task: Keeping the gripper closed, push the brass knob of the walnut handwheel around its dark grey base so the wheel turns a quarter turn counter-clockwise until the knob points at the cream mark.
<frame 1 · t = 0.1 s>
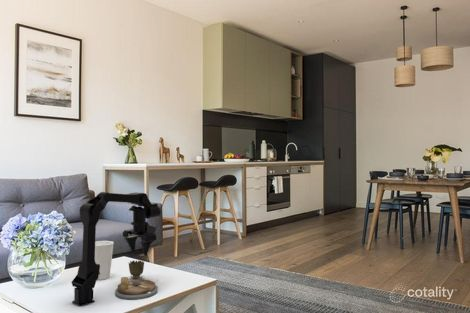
hand: (139, 253, 186), 15 cm above the table, tool pointing down, fingers open, 9 cm apart
wheel base: (136, 292, 176), on the table
handwheel: (136, 281, 176), point 5 cm above the table, hinge at 0.0°
cup: (101, 278, 198), on the table
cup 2: (136, 278, 197), on the table
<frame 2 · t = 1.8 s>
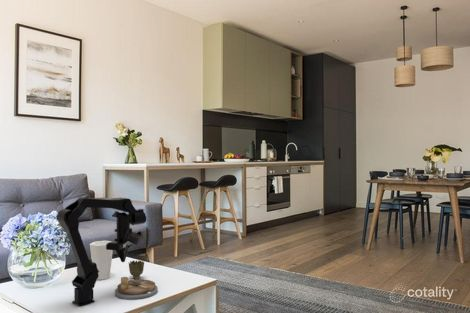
hand: (123, 262, 177), 13 cm above the table, tool pointing down, fingers closed
nothing on the table moved.
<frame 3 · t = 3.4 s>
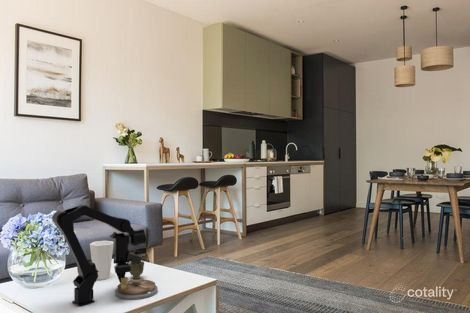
hand: (121, 283, 174), 4 cm above the table, tool pointing down, fingers closed
handwheel: (136, 281, 176), point 5 cm above the table, hinge at 0.0°, touching gripper
everything else where it was.
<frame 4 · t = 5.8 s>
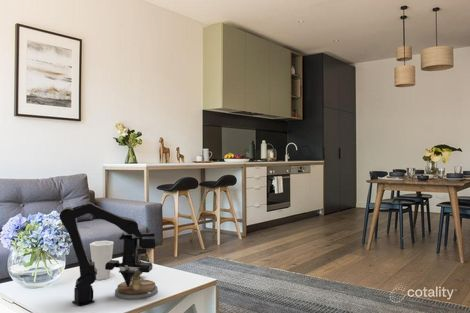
hand: (128, 286, 170), 5 cm above the table, tool pointing down, fingers closed
handwheel: (136, 281, 176), point 5 cm above the table, hinge at 51.8°, touching gripper
everything else where it was.
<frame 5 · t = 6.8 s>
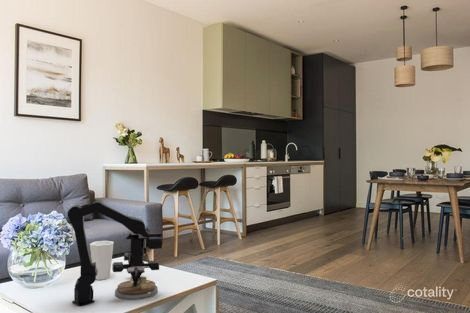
hand: (134, 286, 169), 5 cm above the table, tool pointing down, fingers closed
handwheel: (136, 281, 176), point 5 cm above the table, hinge at 77.5°, touching gripper
everything else where it was.
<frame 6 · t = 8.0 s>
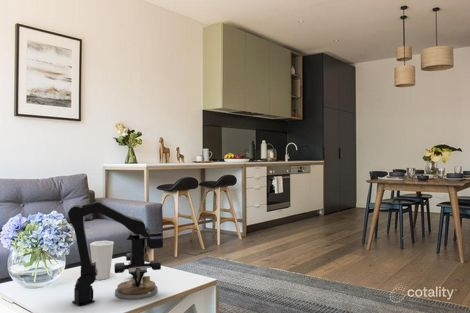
hand: (137, 286, 170), 4 cm above the table, tool pointing down, fingers closed
handwheel: (136, 281, 176), point 5 cm above the table, hinge at 93.2°
everything else where it was.
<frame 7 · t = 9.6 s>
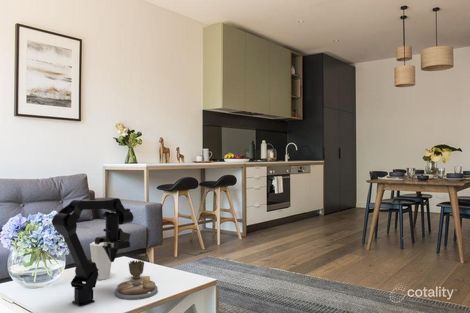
hand: (112, 261, 177), 13 cm above the table, tool pointing down, fingers closed
nothing on the table moved.
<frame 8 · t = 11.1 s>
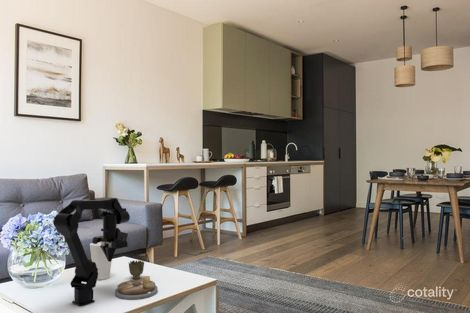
hand: (109, 261, 178), 13 cm above the table, tool pointing down, fingers closed
nothing on the table moved.
at the end: handwheel at +93° (first picture: +0°) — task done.
